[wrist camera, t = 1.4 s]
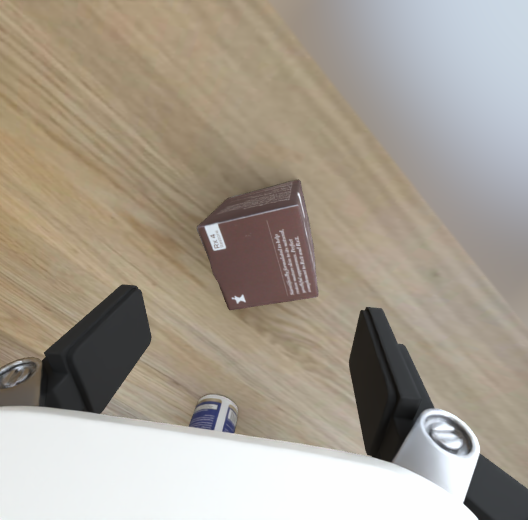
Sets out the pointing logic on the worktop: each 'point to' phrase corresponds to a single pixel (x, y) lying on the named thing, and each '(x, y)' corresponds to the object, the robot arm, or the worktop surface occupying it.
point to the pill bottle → (215, 414)
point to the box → (261, 247)
